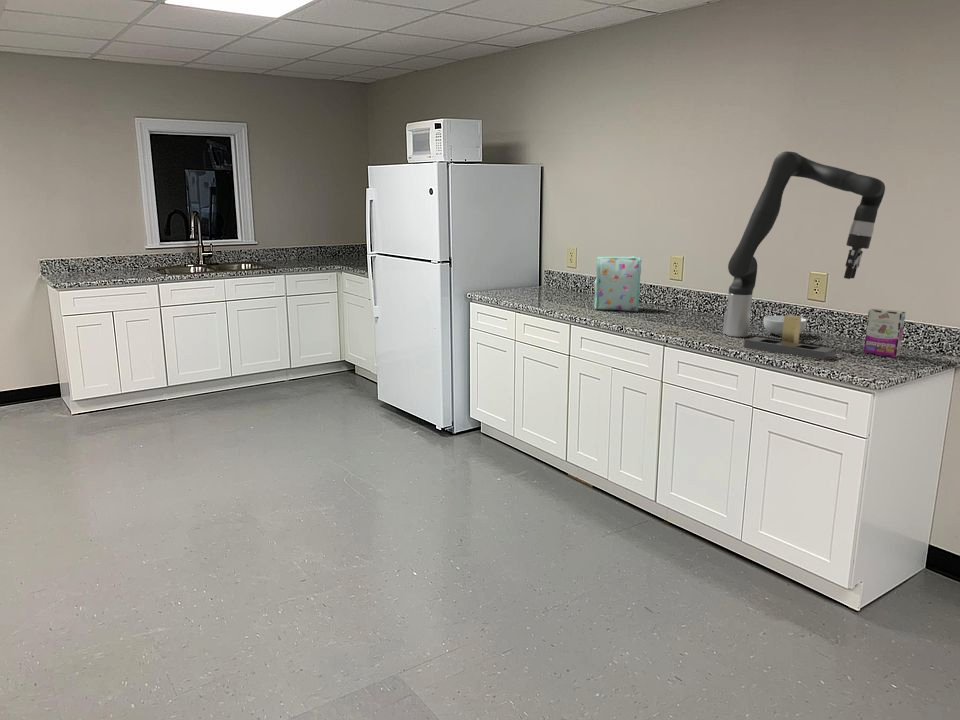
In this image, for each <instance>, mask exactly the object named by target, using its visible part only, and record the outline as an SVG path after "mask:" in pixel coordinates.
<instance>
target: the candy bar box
mask: <svg viewBox="0 0 960 720" xmlns="http://www.w3.org/2000/svg"><path fill="white" fill-rule="evenodd" d="M905 319H906V311H901V310H899V311H898V310H890V309H889V310H888V309H882V308H881V309H879V308H871V309H868V315H867V323H866V331H865V339H864V347H863V353H864V354H867V353H871V354H870V355H874V354H877V355H876V356H881V355H882V356H883V357H890V358H897V357H900V356H901V349H902V343H903V335H904V327H905Z"/></svg>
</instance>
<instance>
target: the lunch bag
mask: <svg viewBox="0 0 960 720" xmlns="http://www.w3.org/2000/svg"><path fill="white" fill-rule="evenodd" d="M596 261H597V262H596V276H595V277H596V278H595V280H594V299H593V300H594V301H593V305H594V309H595V310H604V311H605V310H606V311H607V310H608V311H611V310H613V311H626V312H628V311H629V312H639V303H640V301H639V300H640V291H641V285H640V283H641V273H642V266H641V265H642V259H641V257H637V256H634V255H633V256H597V258H596Z"/></svg>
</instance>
